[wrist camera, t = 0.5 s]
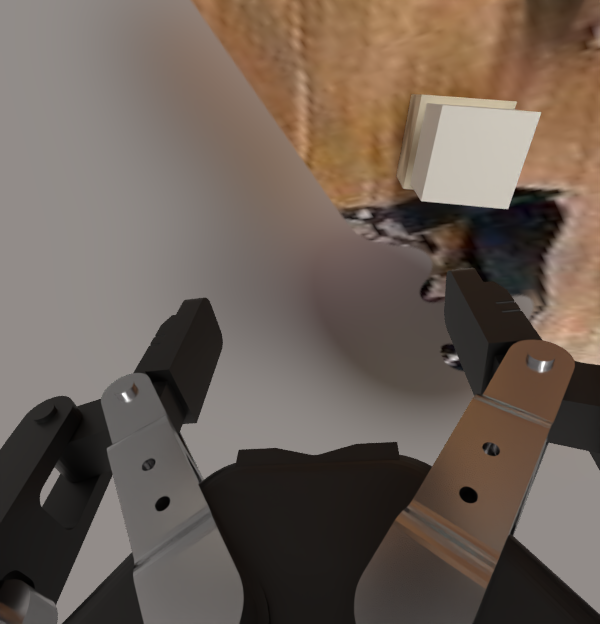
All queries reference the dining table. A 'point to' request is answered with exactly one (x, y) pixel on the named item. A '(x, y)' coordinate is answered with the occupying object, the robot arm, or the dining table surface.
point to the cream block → (471, 154)
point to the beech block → (415, 126)
